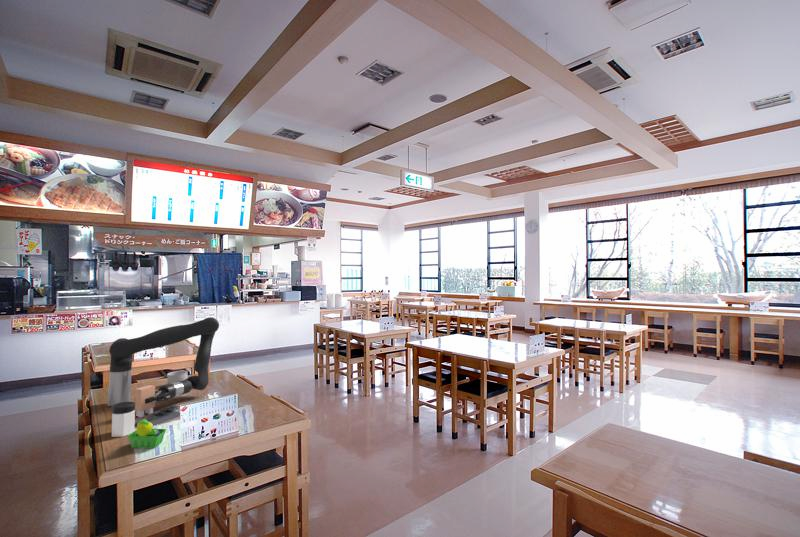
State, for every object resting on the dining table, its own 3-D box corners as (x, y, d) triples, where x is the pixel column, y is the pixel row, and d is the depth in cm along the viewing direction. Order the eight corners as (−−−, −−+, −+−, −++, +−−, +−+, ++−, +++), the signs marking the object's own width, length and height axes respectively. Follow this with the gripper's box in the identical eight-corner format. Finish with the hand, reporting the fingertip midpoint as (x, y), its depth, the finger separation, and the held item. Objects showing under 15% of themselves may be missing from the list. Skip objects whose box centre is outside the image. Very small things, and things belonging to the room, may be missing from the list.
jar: (139, 429, 173) (140, 401, 173) (128, 436, 165) (129, 407, 165) (117, 429, 172) (118, 401, 172) (105, 437, 164) (106, 408, 164)
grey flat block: (150, 427, 175) (150, 421, 175) (135, 424, 178) (135, 418, 178) (188, 412, 194) (188, 407, 194) (174, 410, 197) (174, 405, 197)
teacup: (180, 388, 233) (181, 374, 233) (162, 388, 233) (163, 374, 233) (193, 382, 247) (194, 369, 247) (176, 381, 247) (176, 368, 247)
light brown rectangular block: (140, 417, 186) (141, 389, 186) (134, 416, 187) (135, 388, 187) (154, 413, 192) (155, 386, 193) (148, 411, 194) (149, 385, 194)
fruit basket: (167, 441, 161) (167, 413, 161) (154, 451, 152) (155, 421, 153) (138, 441, 161) (139, 413, 161) (124, 450, 152) (124, 421, 152)
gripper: (161, 382, 206) (129, 390, 190) (182, 385, 201) (151, 394, 185) (160, 396, 206) (129, 406, 190) (181, 400, 201) (151, 410, 185)
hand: (140, 400), depth 188 cm, fingers open, 6 cm apart
